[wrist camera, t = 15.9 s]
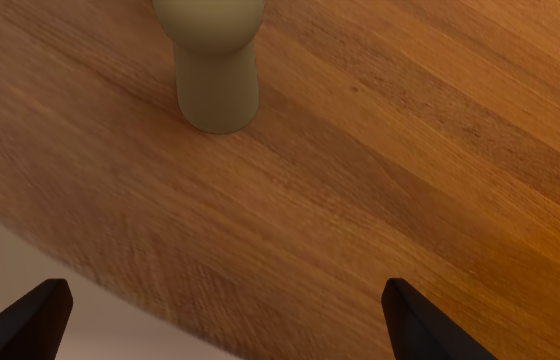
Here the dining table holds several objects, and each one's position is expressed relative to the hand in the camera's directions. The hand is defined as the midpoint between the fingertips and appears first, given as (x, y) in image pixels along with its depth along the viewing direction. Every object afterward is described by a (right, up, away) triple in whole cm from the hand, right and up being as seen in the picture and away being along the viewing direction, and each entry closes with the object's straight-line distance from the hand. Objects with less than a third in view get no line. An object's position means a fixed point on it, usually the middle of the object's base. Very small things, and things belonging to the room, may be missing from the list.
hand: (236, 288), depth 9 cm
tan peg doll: (-3, +9, +15) cm, 18 cm away
